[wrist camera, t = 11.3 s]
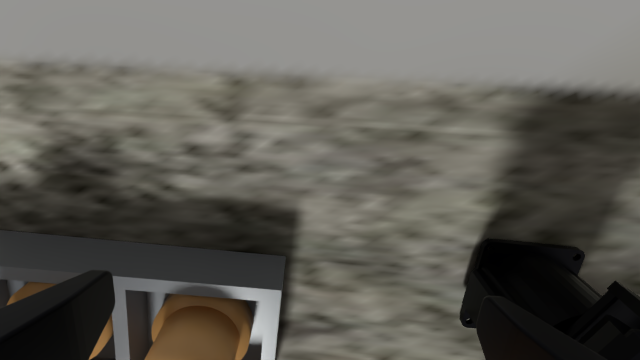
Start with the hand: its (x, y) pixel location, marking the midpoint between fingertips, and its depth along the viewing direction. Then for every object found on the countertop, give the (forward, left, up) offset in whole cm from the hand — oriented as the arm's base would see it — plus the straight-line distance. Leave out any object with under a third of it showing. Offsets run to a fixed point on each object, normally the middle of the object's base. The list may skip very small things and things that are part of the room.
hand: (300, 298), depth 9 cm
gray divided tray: (+9, +11, -13) cm, 19 cm away
